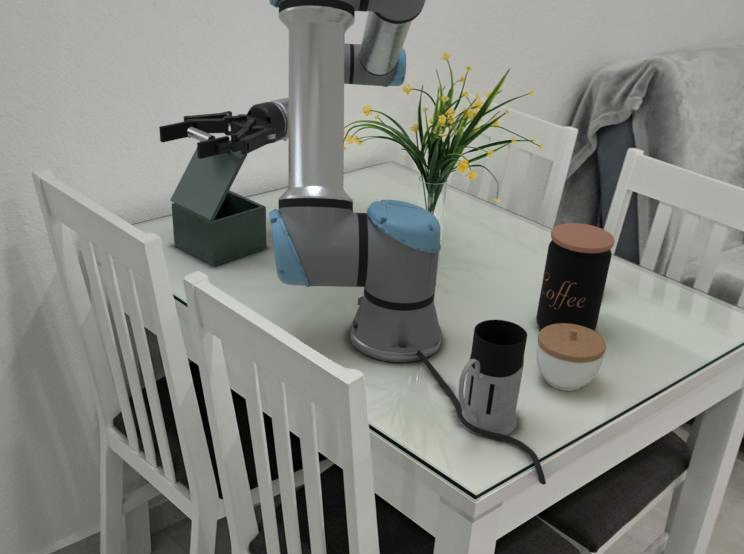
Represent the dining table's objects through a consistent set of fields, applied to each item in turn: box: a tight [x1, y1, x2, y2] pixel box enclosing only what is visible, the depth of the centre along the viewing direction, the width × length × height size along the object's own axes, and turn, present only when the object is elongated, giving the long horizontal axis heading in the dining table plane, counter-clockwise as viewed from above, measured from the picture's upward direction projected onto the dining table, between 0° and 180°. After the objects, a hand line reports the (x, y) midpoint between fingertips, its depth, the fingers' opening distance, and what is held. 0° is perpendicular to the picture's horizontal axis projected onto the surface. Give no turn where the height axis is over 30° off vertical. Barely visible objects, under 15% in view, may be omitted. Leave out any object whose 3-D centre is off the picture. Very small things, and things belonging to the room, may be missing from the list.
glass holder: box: [457, 319, 528, 437], centre depth 130 cm, size 9×14×15 cm, turn 146°
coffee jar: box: [535, 222, 615, 332], centre depth 157 cm, size 11×11×18 cm
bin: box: [171, 189, 267, 267], centre depth 177 cm, size 13×12×9 cm
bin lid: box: [169, 127, 248, 221], centre depth 167 cm, size 14×12×7 cm
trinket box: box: [536, 323, 607, 392], centre depth 145 cm, size 11×11×9 cm
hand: (179, 142), depth 162 cm, fingers open, 10 cm apart
